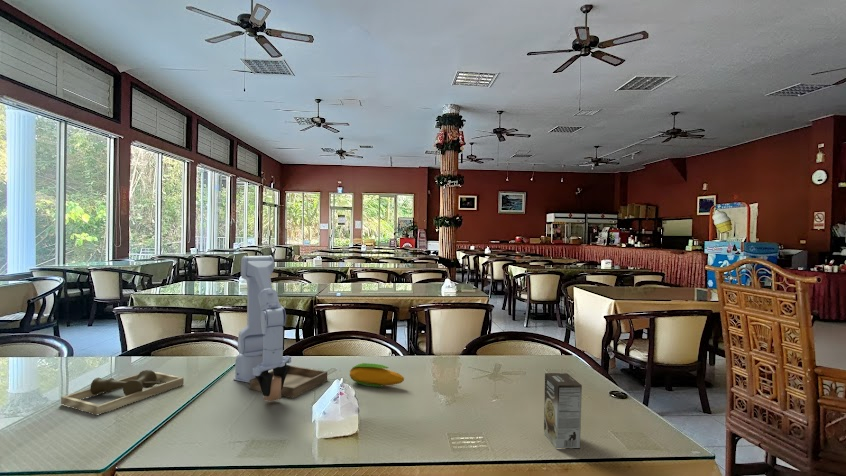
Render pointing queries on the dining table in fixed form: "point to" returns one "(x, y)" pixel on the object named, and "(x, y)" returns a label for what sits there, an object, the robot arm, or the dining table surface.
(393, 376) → the corn
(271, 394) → the tan rounded cylinder
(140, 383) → the kendama
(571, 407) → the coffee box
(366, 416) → the dining table surface
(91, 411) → the oak frame
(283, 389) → the walnut tray
